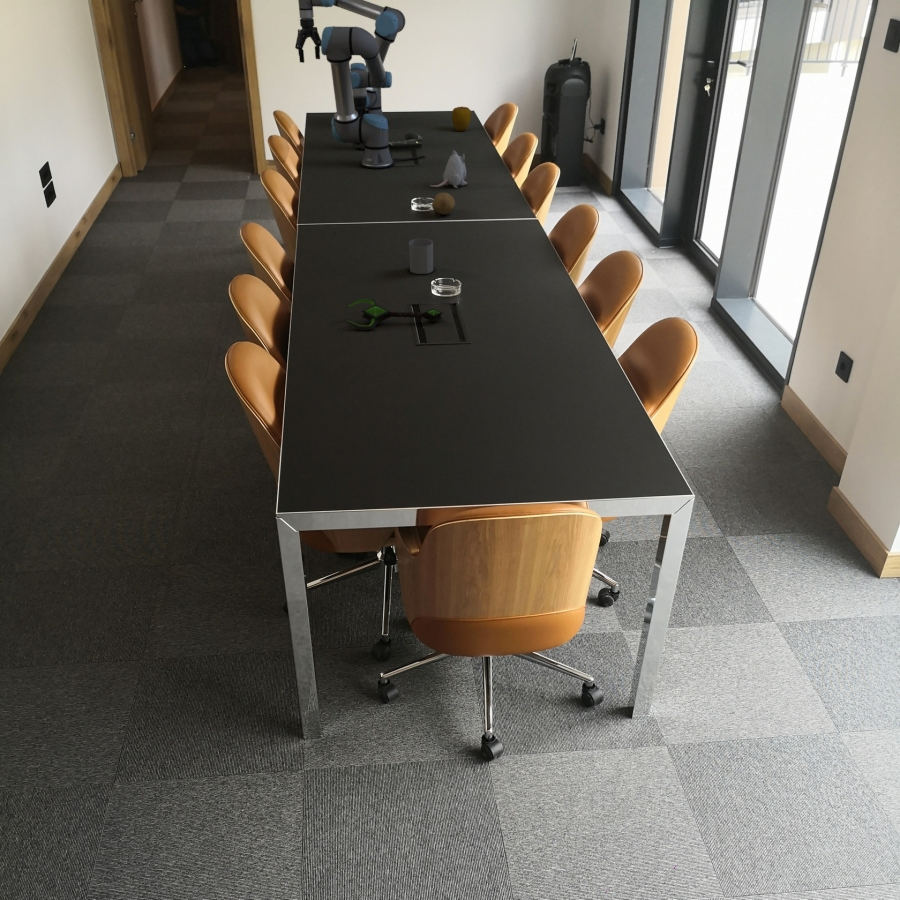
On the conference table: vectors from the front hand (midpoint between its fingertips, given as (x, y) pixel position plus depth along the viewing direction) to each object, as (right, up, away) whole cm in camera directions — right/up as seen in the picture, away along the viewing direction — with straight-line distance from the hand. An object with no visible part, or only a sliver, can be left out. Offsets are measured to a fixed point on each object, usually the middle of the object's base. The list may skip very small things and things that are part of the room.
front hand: (361, 142), depth 454 cm
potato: (+44, -62, -91) cm, 118 cm away
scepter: (+29, -121, -183) cm, 221 cm away
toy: (+45, -42, -59) cm, 86 cm away
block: (0, -2, +1) cm, 2 cm away
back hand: (-32, +56, +30) cm, 71 cm away
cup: (+36, -97, -145) cm, 178 cm away
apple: (+53, +20, +37) cm, 67 cm away
